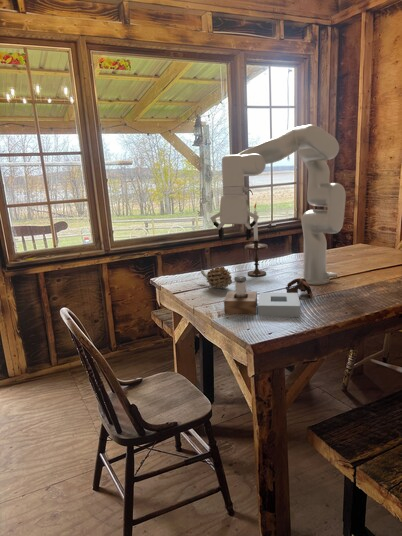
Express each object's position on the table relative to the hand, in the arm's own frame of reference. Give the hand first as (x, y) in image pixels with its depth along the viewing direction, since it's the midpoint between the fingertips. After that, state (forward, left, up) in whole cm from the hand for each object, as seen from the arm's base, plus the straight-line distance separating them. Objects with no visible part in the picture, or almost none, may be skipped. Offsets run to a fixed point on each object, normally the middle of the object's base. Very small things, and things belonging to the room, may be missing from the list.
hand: (235, 239), depth 133 cm
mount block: (-2, +3, -25) cm, 26 cm away
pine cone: (+13, -25, -26) cm, 38 cm away
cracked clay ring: (-24, -12, -26) cm, 37 cm away
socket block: (-15, +3, -25) cm, 30 cm away
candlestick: (-5, -45, -26) cm, 52 cm away
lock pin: (-2, +3, -25) cm, 26 cm away
